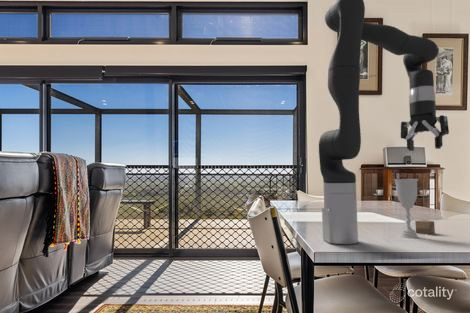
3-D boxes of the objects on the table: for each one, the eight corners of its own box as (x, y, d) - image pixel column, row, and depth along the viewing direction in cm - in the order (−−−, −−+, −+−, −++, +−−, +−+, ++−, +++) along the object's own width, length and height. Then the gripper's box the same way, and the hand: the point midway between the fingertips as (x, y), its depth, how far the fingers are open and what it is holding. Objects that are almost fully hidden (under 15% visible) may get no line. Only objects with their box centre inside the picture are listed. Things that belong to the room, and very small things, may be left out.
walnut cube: (428, 235, 99) (428, 221, 100) (416, 233, 103) (415, 220, 103) (434, 233, 101) (434, 220, 102) (422, 231, 105) (421, 219, 105)
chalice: (425, 239, 93) (422, 179, 94) (400, 238, 94) (398, 179, 95) (416, 234, 100) (413, 178, 101) (393, 234, 101) (391, 179, 103)
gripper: (451, 98, 100) (453, 148, 99) (407, 107, 112) (408, 151, 111) (439, 95, 96) (441, 147, 95) (395, 104, 108) (396, 150, 107)
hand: (424, 149), depth 103 cm, fingers open, 8 cm apart
